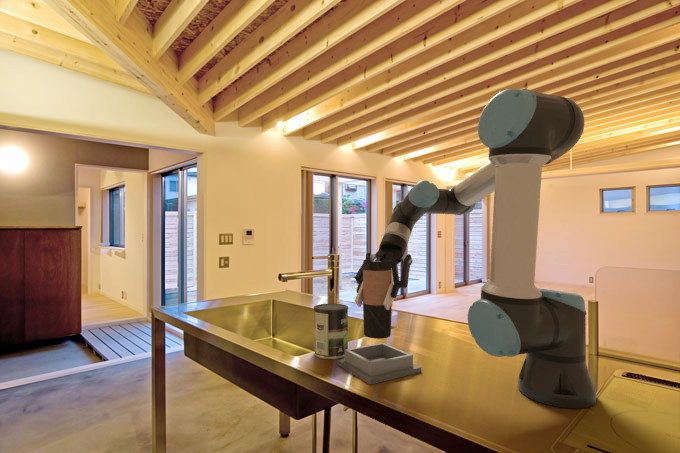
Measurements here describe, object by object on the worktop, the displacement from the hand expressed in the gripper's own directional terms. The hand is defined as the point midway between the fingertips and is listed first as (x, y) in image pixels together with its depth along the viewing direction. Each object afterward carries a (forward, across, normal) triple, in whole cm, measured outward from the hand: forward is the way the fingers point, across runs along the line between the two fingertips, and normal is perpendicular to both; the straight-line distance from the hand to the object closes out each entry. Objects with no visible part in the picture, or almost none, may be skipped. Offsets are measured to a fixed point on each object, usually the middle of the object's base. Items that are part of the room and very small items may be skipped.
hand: (371, 305), depth 99 cm
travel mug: (+4, 0, -9) cm, 9 cm away
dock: (+10, 0, -14) cm, 17 cm away
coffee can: (+7, +17, -18) cm, 25 cm away
